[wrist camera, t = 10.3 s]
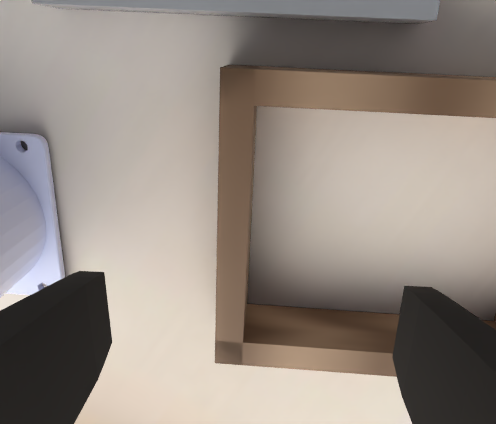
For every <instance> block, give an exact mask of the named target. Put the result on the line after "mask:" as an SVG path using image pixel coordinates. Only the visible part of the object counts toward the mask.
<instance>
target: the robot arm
mask: <svg viewBox="0 0 496 424" xmlns="http://www.w3.org/2000/svg"><path fill="white" fill-rule="evenodd" d="M21 141H24V142H25V143H26V144H27V146H28V149H27V150H24V149H23V148H22V146H21ZM42 283H44V284H46V285H47V287H44V286H43V285H42ZM5 293H8V294H22V295H30V296H28V297H26V298H24V299H22V300H20V301H18V302H16V303H14V304H13V305H11V306H9V307H7V308H5V309H3V310H1V311H0V424H74V423H75V421H76V419H77V417H78V415H79V413H80V412H81V410H82V408H83V406H84V404H85V402H86V401H87V399H88V397H89V395H90V393H91V391H92V389H93V388H94V386H95V384H96V382H97V380H98V378H99V375H100V373H101V370H102V368H103V365H104V363H105V360H106V357H107V355H108V352H109V349H110V346H111V344H112V337H111V328H110V319H109V311H108V302H107V294H106V285H105V276H104V272H88V271H79V272H76V273H74V274H71V275H69V276H67V277H65V272H64V264H63V256H62V248H61V240H60V232H59V225H58V217H57V209H56V201H55V193H54V185H53V177H52V170H51V162H50V154H49V146H48V143H47V141H46V140H45V138H44V137H42V136H41V135H38V134H28V133H9V132H0V298H1V297H2V296H3V295H4V294H5ZM392 358H393V362H394V366H395V371H396V375H397V379H398V383H399V387H400V390H401V394H402V398H403V400H404V403H405V406H406V408H407V411H408V413H409V416H410V418H411V421H412V424H496V330H495V329H494V328H492V327H491V326H489V325H488V324H486V323H485V322H483V321H482V320H481V319H479V318H478V317H476V316H475V315H473V314H472V313H470V312H469V311H467V310H466V309H465V308H463V307H462V306H460V305H459V304H457V303H456V302H454V301H453V300H451V299H450V298H448V297H447V296H445V295H444V294H442V293H440V292H439V291H437V290H435V289H434V288H432V287H418V286H404V292H403V298H402V303H401V309H400V315H399V321H398V327H397V332H396V338H395V344H394V350H393V356H392Z"/></svg>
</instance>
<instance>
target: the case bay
mask: <svg viewBox="0 0 496 424" xmlns="http://www.w3.org/2000/svg"><path fill="white" fill-rule="evenodd" d="M257 106H271V107H290V108H310V109H330V110H349V111H369V112H389V113H408V114H428V115H448V116H467V117H487V118H496V77H481V76H459V75H438V74H417V73H396V72H375V71H353V70H332V69H311V68H290V67H268V66H247V65H227V66H224V67H220V110H219V166H218V221H217V276H216V331H215V363H222V364H235V365H249V366H262V367H275V368H289V369H302V370H315V371H329V372H342V373H355V374H369V375H382V376H395V377H397V375H396V371H395V366H394V362H393V358H392V356H393V350H394V344H395V338H396V332H397V327H398V321H399V315H400V314H386V313H372V312H357V311H343V310H328V309H314V308H300V307H285V306H271V305H256V304H247V297H248V277H249V257H250V236H251V216H252V195H253V175H254V154H255V134H256V113H257ZM482 321H483V322H485V323H486V324H488V325H489V326H491V327H492V328H494V329H495V330H496V314H495V317H494V321H487V320H482Z"/></svg>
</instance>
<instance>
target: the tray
mask: <svg viewBox="0 0 496 424" xmlns="http://www.w3.org/2000/svg"><path fill="white" fill-rule="evenodd" d="M32 3H33V4H39V5H44V6H49V7H54V8H61V9H85V10H108V11H132V12H155V13H179V14H202V15H226V16H249V17H273V18H296V19H320V20H343V21H367V22H390V23H414V24H419V23H425V22H430V21H436V20H437V16H438V11H439V5H440V0H32Z"/></svg>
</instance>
